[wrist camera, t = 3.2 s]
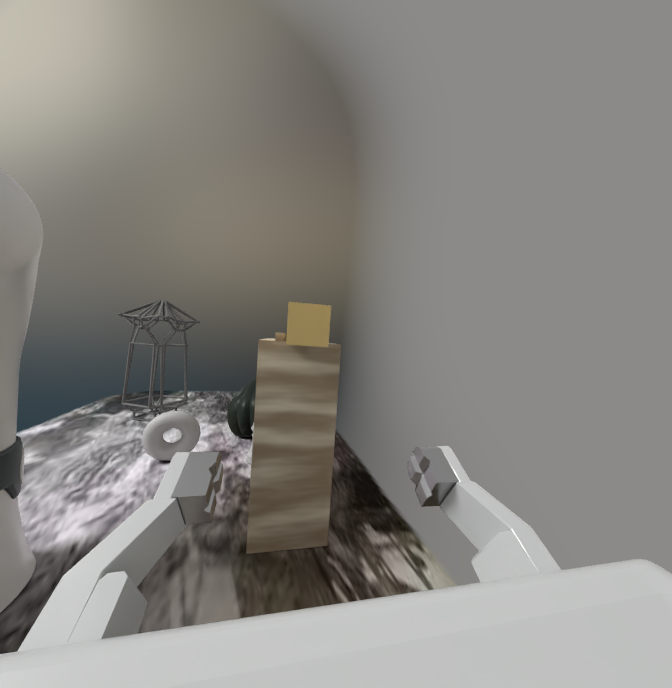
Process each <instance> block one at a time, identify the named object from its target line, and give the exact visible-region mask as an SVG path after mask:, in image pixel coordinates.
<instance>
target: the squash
mask: <svg viewBox="0 0 672 688" xmlns="http://www.w3.org/2000/svg"><path fill="white" fill-rule="evenodd" d="M256 380H257V379H256ZM256 380H253V381H252V382H250V383H249V384H247V385H246V386H245V387H244V388H242V389H241V390H240V391H239V392H238V393H237V394H236V395H235V396H234V398H233V399H232V401H231V403H230V405H229V408H228V412H227V419H228V424H229V427H230V429H231V431H232V432H233V433H234V434H235V435H236V436H239V437H250V436H252V434H253V431H252V429H251V427H252V426H253V423H254V413H255V397H256Z"/></svg>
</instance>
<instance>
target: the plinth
mask: <svg viewBox="0 0 672 688" xmlns="http://www.w3.org/2000/svg"><path fill="white" fill-rule="evenodd" d="M286 340H287V339H285V333H276V338H275V339H271V338H268V339H262V340H259V346H258V363H257V380H256V397H255V413H254V430H253V447H252V464H251V481H250V498H249V515H248V531H247V548H246V554H251V553H261V552H271V551H281V550H291V549H301V548H312V547H322V546H328V531H329V516H330V501H331V486H332V471H333V456H334V441H335V426H336V411H337V396H338V381H339V365H340V351H341V345H338V344H332V343H328V347H318V346H301V345H286Z"/></svg>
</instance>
